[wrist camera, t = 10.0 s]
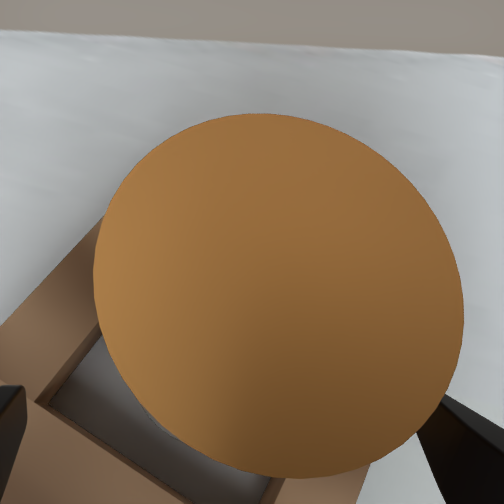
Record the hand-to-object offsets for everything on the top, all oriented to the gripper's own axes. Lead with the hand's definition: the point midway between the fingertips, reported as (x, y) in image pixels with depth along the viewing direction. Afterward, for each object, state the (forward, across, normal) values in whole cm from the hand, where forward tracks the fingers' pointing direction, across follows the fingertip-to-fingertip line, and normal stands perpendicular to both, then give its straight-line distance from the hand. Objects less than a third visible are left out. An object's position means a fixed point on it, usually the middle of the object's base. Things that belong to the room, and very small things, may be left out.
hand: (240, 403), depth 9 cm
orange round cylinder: (+9, 0, +6) cm, 10 cm away
